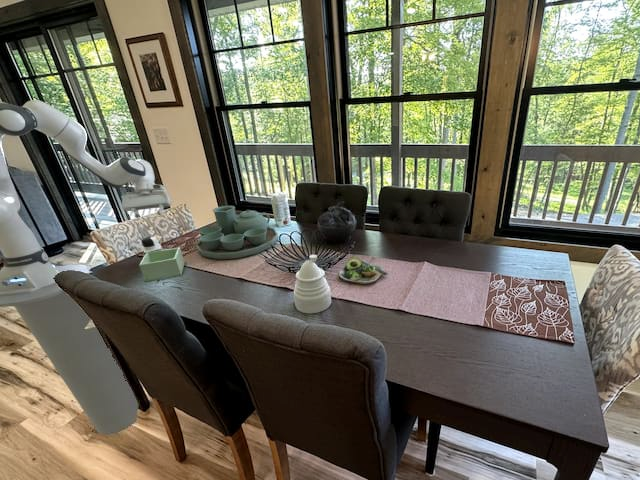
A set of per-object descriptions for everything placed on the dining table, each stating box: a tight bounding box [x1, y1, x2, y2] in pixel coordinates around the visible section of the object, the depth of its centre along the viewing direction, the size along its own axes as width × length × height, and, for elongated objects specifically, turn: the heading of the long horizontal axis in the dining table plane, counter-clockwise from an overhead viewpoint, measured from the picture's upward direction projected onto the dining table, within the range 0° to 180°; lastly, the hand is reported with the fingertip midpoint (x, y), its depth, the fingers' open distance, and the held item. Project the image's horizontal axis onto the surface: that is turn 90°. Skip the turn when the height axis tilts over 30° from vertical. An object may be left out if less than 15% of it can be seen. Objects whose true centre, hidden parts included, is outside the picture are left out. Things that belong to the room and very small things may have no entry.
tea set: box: [195, 205, 279, 260], centre depth 160 cm, size 40×40×16 cm
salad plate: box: [338, 257, 389, 285], centre depth 128 cm, size 19×18×5 cm
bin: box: [138, 246, 186, 282], centre depth 137 cm, size 14×14×8 cm
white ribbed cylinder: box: [270, 191, 292, 228], centre depth 185 cm, size 8×9×19 cm
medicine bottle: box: [141, 236, 163, 256], centre depth 146 cm, size 7×7×12 cm
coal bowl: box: [317, 201, 357, 242], centre depth 160 cm, size 20×20×19 cm
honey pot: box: [293, 254, 332, 314], centre depth 108 cm, size 13×13×18 cm
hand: (148, 215), depth 150 cm, fingers open, 8 cm apart
